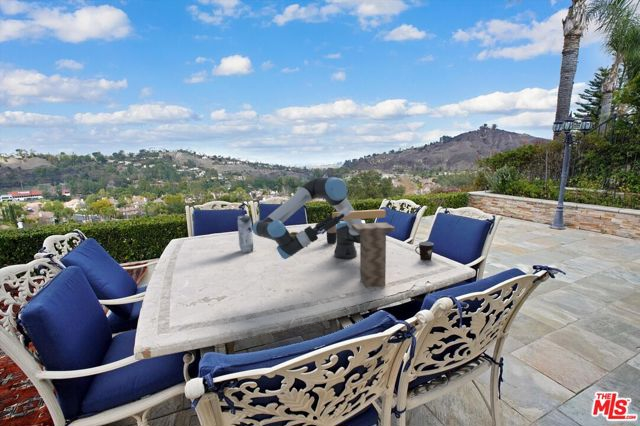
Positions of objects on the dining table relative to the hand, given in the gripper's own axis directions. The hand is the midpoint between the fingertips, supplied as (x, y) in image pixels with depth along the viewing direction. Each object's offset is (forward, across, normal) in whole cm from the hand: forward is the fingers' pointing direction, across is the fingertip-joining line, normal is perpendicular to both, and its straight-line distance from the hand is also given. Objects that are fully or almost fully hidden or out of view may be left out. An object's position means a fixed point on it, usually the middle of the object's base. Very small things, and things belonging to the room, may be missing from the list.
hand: (348, 210), depth 138 cm
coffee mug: (+28, -28, -61) cm, 73 cm away
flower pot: (-39, -78, -22) cm, 90 cm away
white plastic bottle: (-70, -71, -4) cm, 99 cm away
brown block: (+3, 0, -6) cm, 7 cm away
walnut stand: (-8, -1, -40) cm, 41 cm away
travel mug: (-15, -78, -36) cm, 87 cm away
